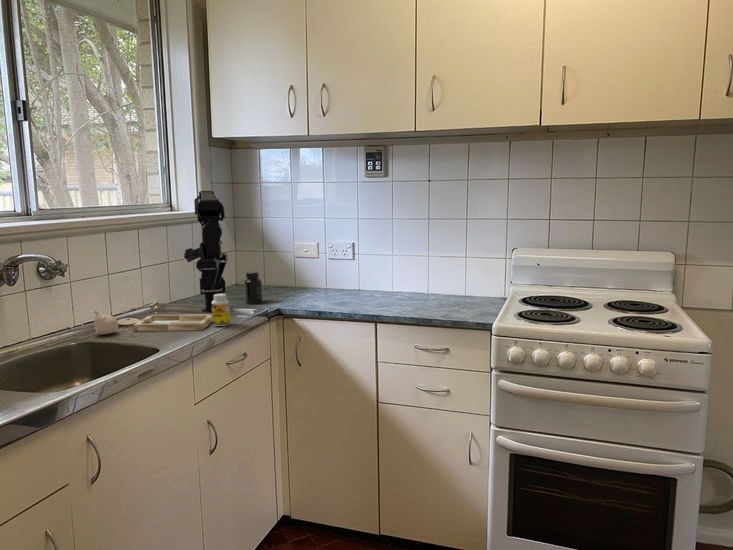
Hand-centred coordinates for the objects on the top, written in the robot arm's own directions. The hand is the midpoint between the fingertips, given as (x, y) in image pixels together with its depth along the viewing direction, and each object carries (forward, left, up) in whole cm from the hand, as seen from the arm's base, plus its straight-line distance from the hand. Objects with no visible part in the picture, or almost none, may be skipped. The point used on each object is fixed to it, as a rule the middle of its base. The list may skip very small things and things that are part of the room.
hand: (214, 286), depth 178 cm
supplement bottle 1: (-1, +1, -13) cm, 13 cm away
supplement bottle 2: (-36, +5, -13) cm, 38 cm away
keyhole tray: (-2, -14, -13) cm, 19 cm away
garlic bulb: (+8, -32, -13) cm, 36 cm away
